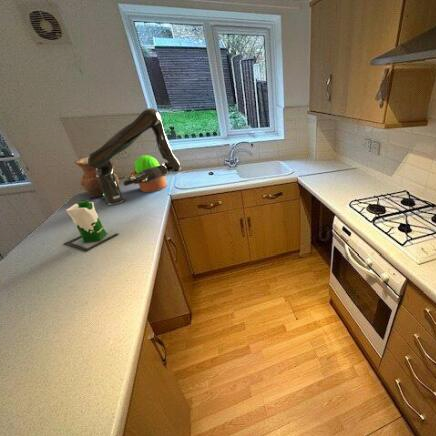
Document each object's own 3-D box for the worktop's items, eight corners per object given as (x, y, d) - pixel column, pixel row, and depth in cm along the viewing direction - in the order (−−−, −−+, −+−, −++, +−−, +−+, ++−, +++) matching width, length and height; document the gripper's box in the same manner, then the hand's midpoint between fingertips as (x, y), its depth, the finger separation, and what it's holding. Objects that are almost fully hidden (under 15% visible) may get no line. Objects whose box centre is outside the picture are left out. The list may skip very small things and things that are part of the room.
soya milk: (101, 241, 118) (82, 205, 108) (80, 243, 116) (60, 207, 107) (109, 232, 125) (93, 197, 116) (90, 234, 124) (72, 199, 114)
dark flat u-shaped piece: (64, 244, 117) (64, 243, 116) (97, 228, 129) (97, 228, 129) (85, 251, 111) (85, 251, 110) (118, 234, 123) (117, 234, 123)
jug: (87, 200, 162) (70, 164, 150) (85, 192, 176) (69, 158, 164) (125, 192, 175) (111, 158, 163) (119, 184, 189) (107, 153, 177)
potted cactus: (174, 182, 191) (165, 150, 179) (162, 192, 172) (151, 158, 160) (146, 183, 191) (136, 151, 178) (131, 194, 171) (118, 159, 159)
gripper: (141, 167, 147) (113, 175, 133) (157, 169, 142) (129, 178, 128) (145, 179, 150) (118, 188, 136) (160, 181, 145) (134, 191, 132)
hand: (124, 183), depth 132 cm, fingers closed
